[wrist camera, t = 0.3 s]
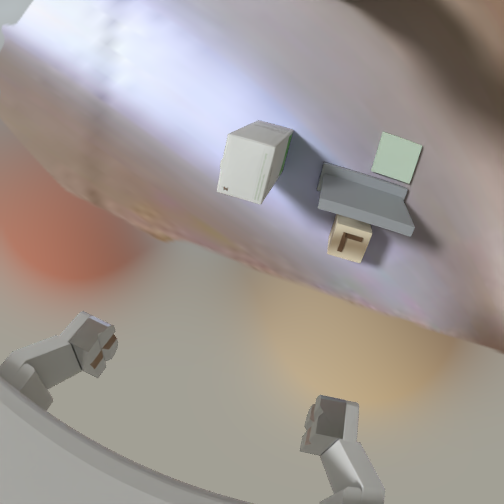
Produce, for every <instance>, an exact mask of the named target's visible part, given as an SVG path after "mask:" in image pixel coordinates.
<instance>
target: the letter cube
mask: <svg viewBox="0 0 504 504" xmlns="http://www.w3.org/2000/svg"><path fill="white" fill-rule="evenodd" d="M371 236H372V228H371V224H368V223H365V222H362V221H359V220H355V219H352V218H349V217H345V216H342V215H339V214H336V216H335V220H334V223H333V226H332V229H331V232H330V235H329V240H328V251H327V254H329V255H333V256H336V257H340V258H343V259H347V260H350V261H354V262H357V263H361V260H362V258H363V256H364V253H365V251H366V248H367V246H368V243H369V241H370V238H371Z"/></svg>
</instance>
